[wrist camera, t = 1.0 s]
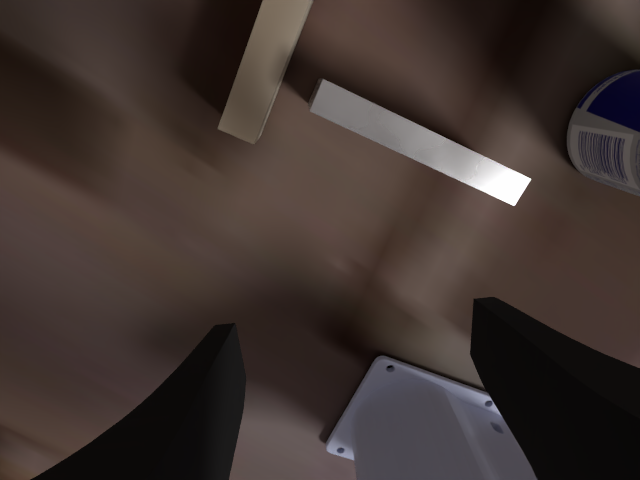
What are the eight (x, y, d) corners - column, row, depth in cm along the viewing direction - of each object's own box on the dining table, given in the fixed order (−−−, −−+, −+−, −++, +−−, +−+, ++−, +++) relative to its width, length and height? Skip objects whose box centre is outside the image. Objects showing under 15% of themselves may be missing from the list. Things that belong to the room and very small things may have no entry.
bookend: (480, 156, 21) (531, 179, 16) (468, 178, 21) (514, 205, 17) (318, 78, 19) (323, 79, 15) (308, 103, 20) (309, 111, 15)
